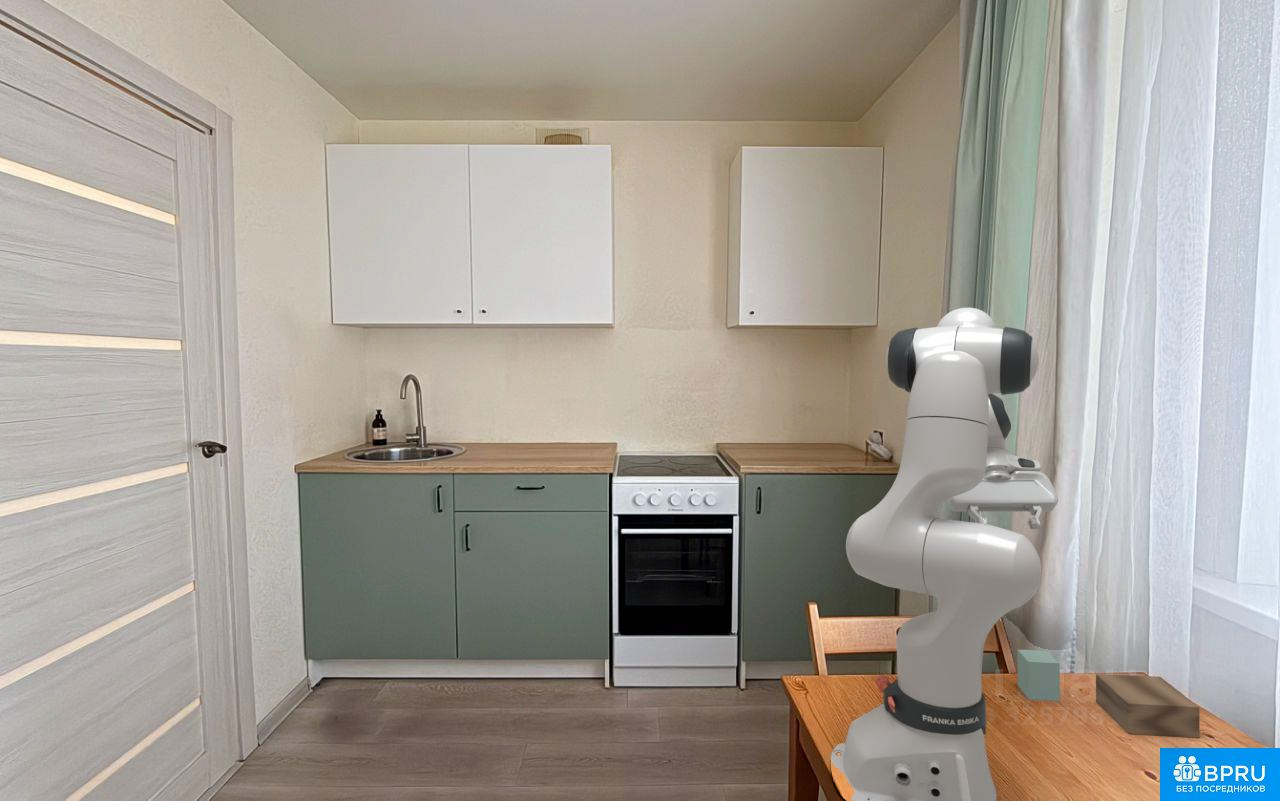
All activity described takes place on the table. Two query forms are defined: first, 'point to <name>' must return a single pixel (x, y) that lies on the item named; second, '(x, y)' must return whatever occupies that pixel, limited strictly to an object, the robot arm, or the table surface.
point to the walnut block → (1147, 705)
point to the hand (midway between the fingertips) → (1009, 527)
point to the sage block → (1038, 675)
